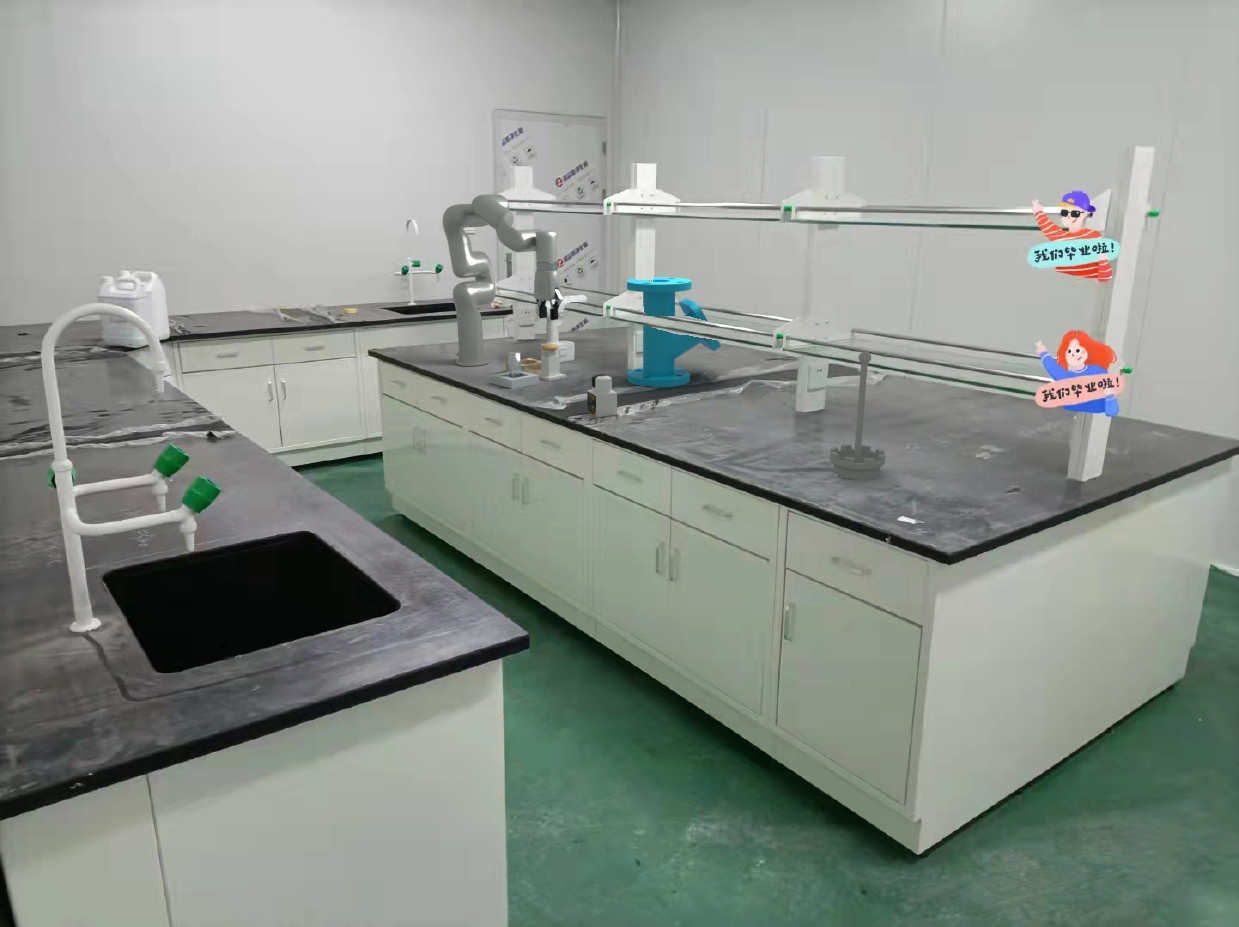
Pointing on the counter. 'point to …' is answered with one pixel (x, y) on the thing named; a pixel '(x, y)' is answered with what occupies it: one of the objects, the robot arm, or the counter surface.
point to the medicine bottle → (602, 397)
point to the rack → (529, 366)
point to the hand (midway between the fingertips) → (548, 318)
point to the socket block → (515, 380)
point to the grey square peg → (514, 364)
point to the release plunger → (549, 350)
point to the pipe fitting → (665, 333)
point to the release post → (550, 368)
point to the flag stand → (858, 441)
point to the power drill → (552, 333)
